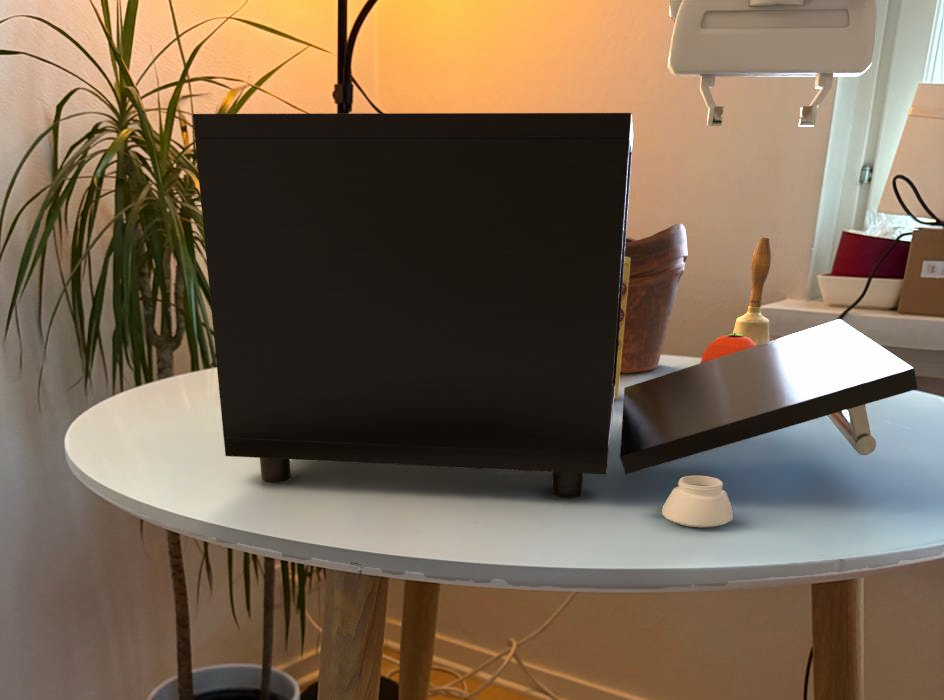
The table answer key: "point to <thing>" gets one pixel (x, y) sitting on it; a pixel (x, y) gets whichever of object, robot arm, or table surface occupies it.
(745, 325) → the hand bell
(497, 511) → the table surface
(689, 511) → the white jar
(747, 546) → the table surface
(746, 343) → the clementine
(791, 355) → the oven door
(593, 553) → the table surface
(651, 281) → the terracotta flower pot
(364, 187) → the oven
